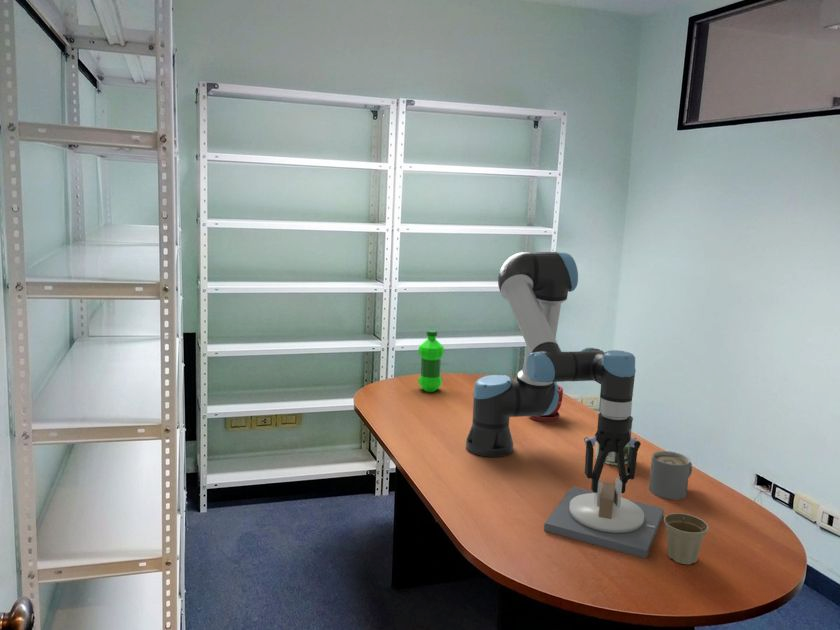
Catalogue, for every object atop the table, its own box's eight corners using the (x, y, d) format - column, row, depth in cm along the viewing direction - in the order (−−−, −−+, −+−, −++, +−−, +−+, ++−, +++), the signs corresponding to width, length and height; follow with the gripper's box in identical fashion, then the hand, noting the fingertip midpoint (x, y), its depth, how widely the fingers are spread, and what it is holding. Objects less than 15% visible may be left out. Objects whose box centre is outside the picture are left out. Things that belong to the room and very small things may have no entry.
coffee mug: (663, 501, 177) (667, 466, 175) (641, 485, 186) (644, 452, 185) (704, 496, 181) (708, 462, 179) (680, 481, 190) (684, 448, 189)
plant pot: (568, 419, 241) (570, 388, 238) (542, 425, 233) (544, 393, 231) (543, 409, 251) (545, 379, 249) (517, 415, 244) (519, 384, 242)
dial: (643, 539, 153) (645, 513, 151) (564, 524, 158) (566, 499, 157) (644, 505, 169) (646, 482, 168) (573, 493, 175) (575, 470, 174)
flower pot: (653, 547, 154) (656, 512, 152) (691, 546, 154) (695, 512, 153) (671, 569, 144) (675, 533, 143) (712, 568, 145) (716, 532, 144)
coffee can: (627, 454, 209) (631, 412, 207) (630, 467, 199) (634, 423, 197) (593, 451, 211) (597, 409, 209) (595, 463, 201) (599, 419, 199)
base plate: (543, 530, 160) (544, 521, 159) (571, 493, 180) (572, 485, 180) (646, 558, 148) (647, 549, 148) (663, 515, 169) (663, 507, 169)
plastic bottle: (434, 395, 265) (436, 334, 261) (412, 390, 271) (414, 331, 266) (447, 389, 273) (449, 331, 269) (425, 385, 279) (427, 327, 275)
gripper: (644, 410, 163) (636, 498, 167) (575, 409, 163) (568, 496, 167) (655, 420, 156) (646, 512, 160) (583, 419, 155) (575, 510, 159)
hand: (606, 504), depth 163 cm, fingers closed on dial, 4 cm apart
